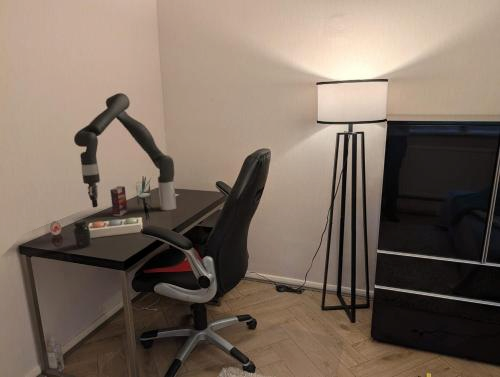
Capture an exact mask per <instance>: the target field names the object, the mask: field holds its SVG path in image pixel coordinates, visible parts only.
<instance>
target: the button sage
mask: <svg viewBox="0 0 500 377" xmlns="http://www.w3.org/2000/svg"><path fill="white" fill-rule="evenodd" d="M137 218H138V217H128V218H125V219H126V220H125V221H126V225H127V224H136V223H137Z"/></svg>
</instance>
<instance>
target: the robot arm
mask: <svg viewBox="0 0 500 377" xmlns="http://www.w3.org/2000/svg"><path fill="white" fill-rule="evenodd" d="M130 104H131V103H130V98H129V97H128V96H127V95H126V94H125V93H121V92H120V93H119V92H118V93H116V94H113V95H111V96H109V97H108V98H106V100H105V105H106V109H104V110H103V111H101V113H99V114H98V115H97V116H96V117H94V118H93V119H92V121H91V122H90V123H88V124H87V125H86V126H85V127H83V128H82V129H80V130H79V131H77V133H75V135H74V137H73V139H74V144H75V145H76V146H77V147H81V148H84V147H85V151H82V152H81V153H80V163H81V164H80V165H81V173H82V180H83V181H82V182H83V183H84V184H85V185H88V186H87V191H88V192H87V194H88V197H89V200H90V201H91V204H92V208H97V207H98V205H99V204H98V188H99V187H98V185H97V183H98V184H99V183H100V182H101V178H100V177H101V176H100V170H99V166H98V160H97V152H98V151H97V150H98V144H99V143H98V142H99V140H98V139H99V138H98V136H100V135H102V134H103V133H104V131H106V129H107V128H108V127H109V126H110V125H111V123H112V122H113V121H114V120H115V119H117V120H118V121H119V122H120V123H121V125H122V126H123V127H124V128H125V129H126V130H127V132H128V133H129V134H130V136H131V137H132V138H133V139H134V141H135V142H136V143H137V144H138V146H139V147H141V149H142V150H143V151H144V152H145V153H146V154H147V155H148V157H149V159H150V160H151V162H152V163H153V165H154V166H155V167H156V168H157V169H158V171H159V175H158V177H157V184H158V185H157V186H158V193H159V204H160V210H161V211H173V210H176V209H177V200H176V193H175V181H174V177H175V162H174V159H173V157H171V156H170V155H166V154H164V153H163V152H162V151H161V150H160V149H159V147H158V146H157V143H156V142H155V139H154V137H153V135H152V133H151V132H150V131H149V129H148V128H147V127H146V125H144V124H143V123H142V122H140V121H138V120H136V119H135V118H133V117H131V116H130V115H129V114H128V113H127V110H128V108H129V107H130Z"/></svg>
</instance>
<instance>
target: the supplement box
mask: <svg viewBox="0 0 500 377" xmlns="http://www.w3.org/2000/svg"><path fill="white" fill-rule="evenodd" d="M110 199H111V205H112V214H113V217H114V216H115V217H117V216H119V217H120V216H122V215H124V214H126V213H128V211H129V210H128V203H127V195H126V187H125V186H119V185H118V186H116V187H112V189H110Z"/></svg>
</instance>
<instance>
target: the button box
mask: <svg viewBox="0 0 500 377" xmlns="http://www.w3.org/2000/svg"><path fill="white" fill-rule="evenodd" d="M136 218H137V223H136V224H127V225H126V221H125V220H126V219H127V218H124V219H119V220H120V221H121V225H119V226H110V227H109V221H110V220H106V221H103V222H104V226H105V227H101V228H93V227H92V223H93V222H89V224H88V225H87V226H88V227H89V231H90V237H91V239H94V238H101V237H110V236H111V237H112V236H118V235H127V234H134V233H141V232H140V231H141V229H142V230H143V217H136Z"/></svg>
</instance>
